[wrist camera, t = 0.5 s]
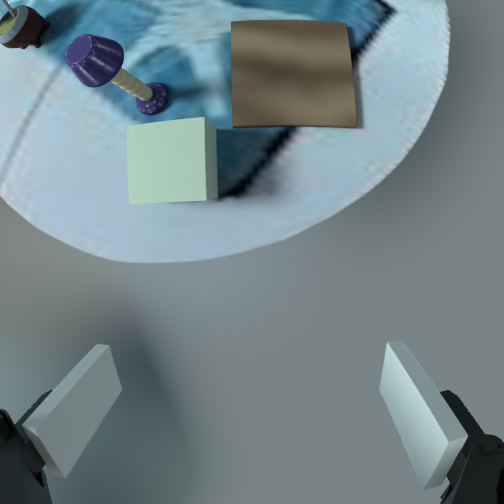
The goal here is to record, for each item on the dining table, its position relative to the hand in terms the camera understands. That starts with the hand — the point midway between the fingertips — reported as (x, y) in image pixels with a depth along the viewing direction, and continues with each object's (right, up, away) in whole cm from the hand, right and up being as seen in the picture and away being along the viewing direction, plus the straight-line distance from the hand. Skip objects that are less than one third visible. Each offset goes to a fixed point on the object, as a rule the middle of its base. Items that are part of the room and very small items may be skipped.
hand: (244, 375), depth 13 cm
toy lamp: (-12, +24, +20) cm, 34 cm away
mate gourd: (-34, +41, +18) cm, 56 cm away
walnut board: (+5, +27, +19) cm, 33 cm away
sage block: (-8, +16, +22) cm, 28 cm away
